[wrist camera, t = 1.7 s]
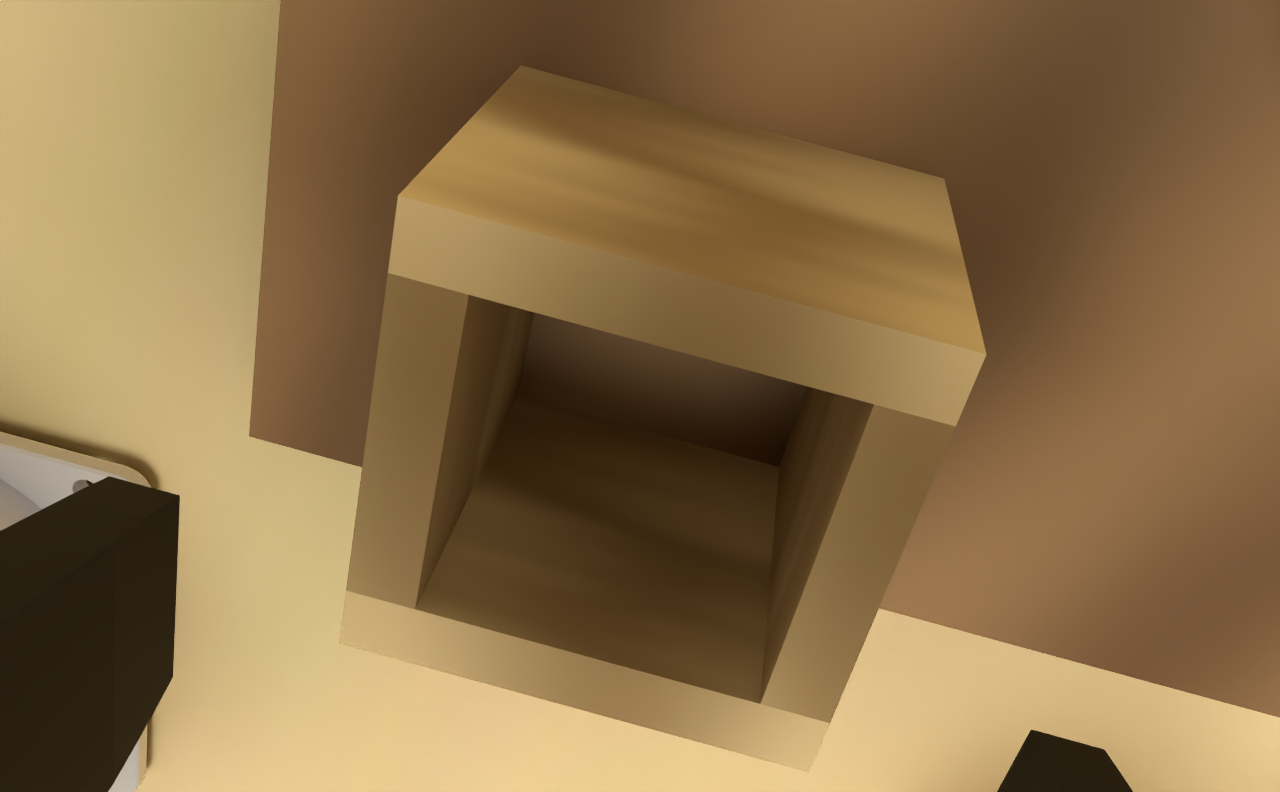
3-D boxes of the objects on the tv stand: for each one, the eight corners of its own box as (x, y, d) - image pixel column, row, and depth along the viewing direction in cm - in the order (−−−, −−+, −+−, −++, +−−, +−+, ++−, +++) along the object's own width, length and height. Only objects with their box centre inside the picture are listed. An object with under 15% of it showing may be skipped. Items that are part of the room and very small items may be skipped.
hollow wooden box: (457, 426, 18) (339, 643, 14) (521, 65, 15) (398, 195, 11) (815, 524, 18) (809, 771, 14) (944, 178, 15) (987, 354, 11)
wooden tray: (280, 399, 20) (118, 594, 15) (374, -692, 13) (127, -918, 8) (1340, 687, 20) (1489, 972, 15) (2017, -266, 13) (2663, -265, 8)
